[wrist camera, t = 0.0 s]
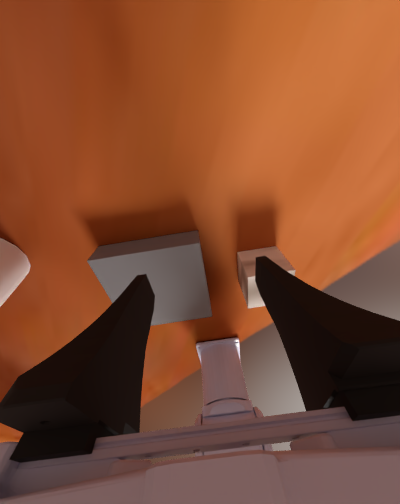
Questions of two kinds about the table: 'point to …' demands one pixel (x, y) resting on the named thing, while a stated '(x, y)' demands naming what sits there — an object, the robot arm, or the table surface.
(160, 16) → the table surface
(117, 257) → the charcoal plinth
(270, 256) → the cream cube
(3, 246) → the foam cup
